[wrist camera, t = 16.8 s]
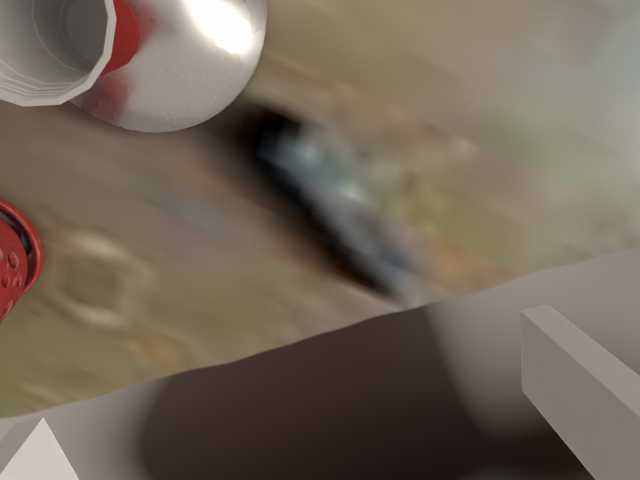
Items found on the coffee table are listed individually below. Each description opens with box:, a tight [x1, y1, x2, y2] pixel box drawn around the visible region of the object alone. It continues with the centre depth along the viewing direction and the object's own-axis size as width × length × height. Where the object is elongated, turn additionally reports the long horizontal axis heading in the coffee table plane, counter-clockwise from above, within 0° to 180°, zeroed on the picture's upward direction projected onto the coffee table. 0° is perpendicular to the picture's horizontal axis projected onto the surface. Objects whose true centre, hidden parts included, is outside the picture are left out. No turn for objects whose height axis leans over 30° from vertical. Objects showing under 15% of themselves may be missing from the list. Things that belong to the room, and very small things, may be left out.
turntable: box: [69, 0, 267, 132], centre depth 32 cm, size 20×20×2 cm
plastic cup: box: [0, 0, 140, 107], centre depth 26 cm, size 11×11×12 cm
